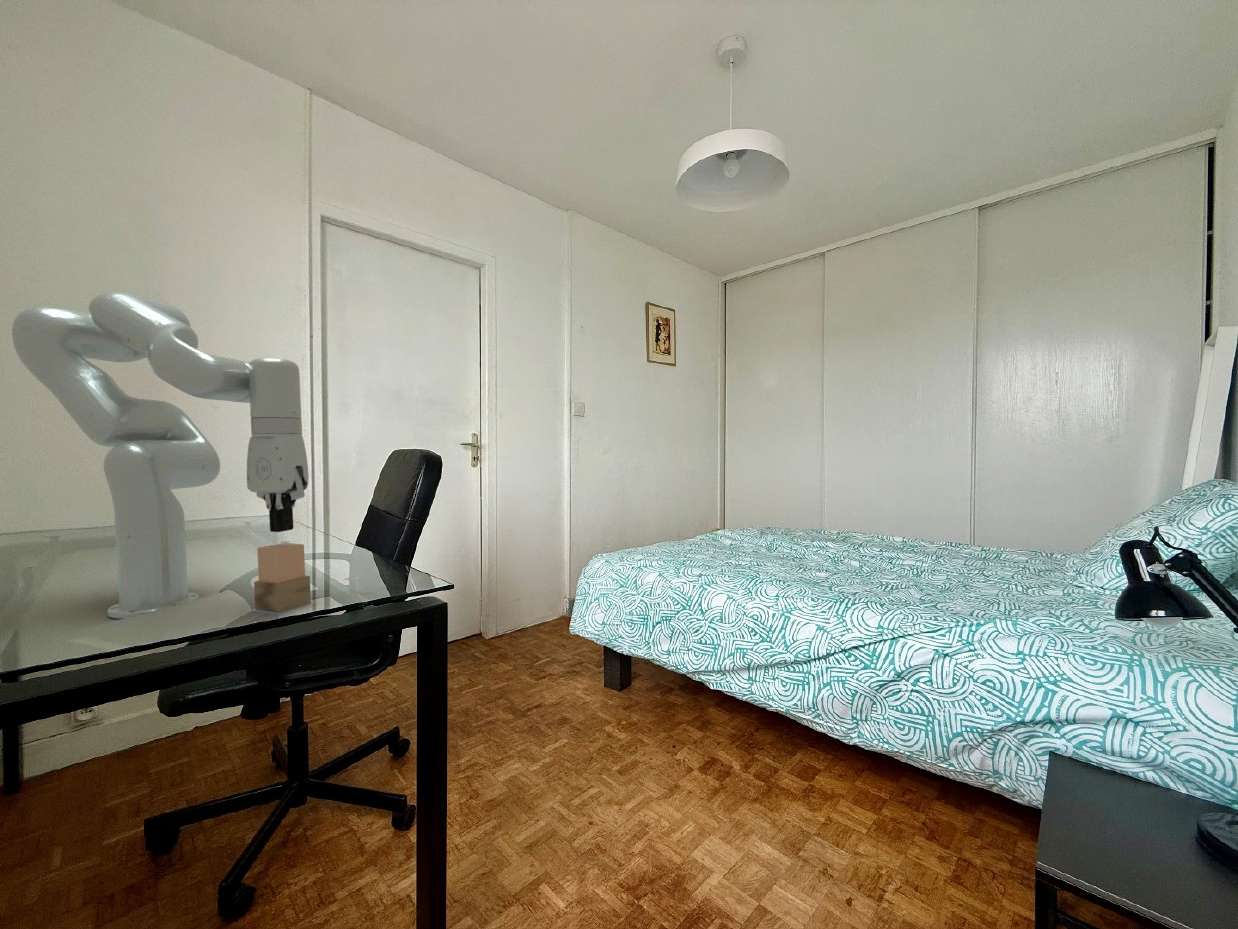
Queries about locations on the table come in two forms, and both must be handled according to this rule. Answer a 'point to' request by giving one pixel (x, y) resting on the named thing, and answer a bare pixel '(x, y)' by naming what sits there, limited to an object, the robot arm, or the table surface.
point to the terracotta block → (281, 562)
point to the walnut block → (282, 595)
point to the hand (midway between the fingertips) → (281, 530)
